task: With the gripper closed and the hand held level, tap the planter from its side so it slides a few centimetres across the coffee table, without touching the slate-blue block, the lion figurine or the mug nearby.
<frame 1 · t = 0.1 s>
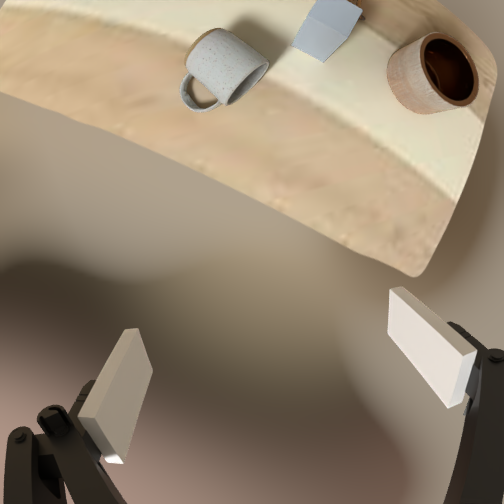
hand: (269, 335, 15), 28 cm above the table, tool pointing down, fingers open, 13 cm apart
slate block: (314, 41, 36), on the table
ceramic mug: (220, 81, 37), on the table
planter: (414, 81, 38), on the table
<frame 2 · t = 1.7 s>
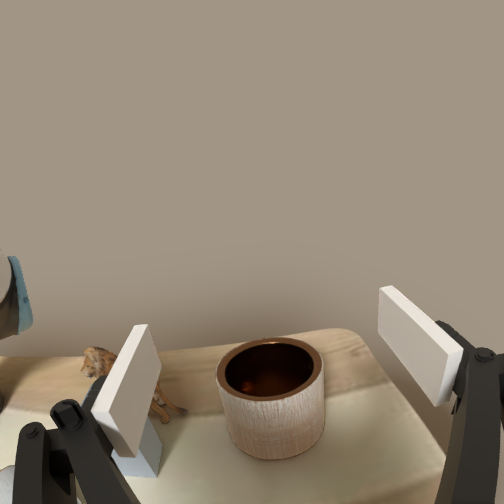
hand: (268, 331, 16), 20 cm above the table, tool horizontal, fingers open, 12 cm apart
slate block: (139, 460, 28), on the table
lion figurine: (138, 407, 38), on the table
planter: (277, 428, 32), on the table
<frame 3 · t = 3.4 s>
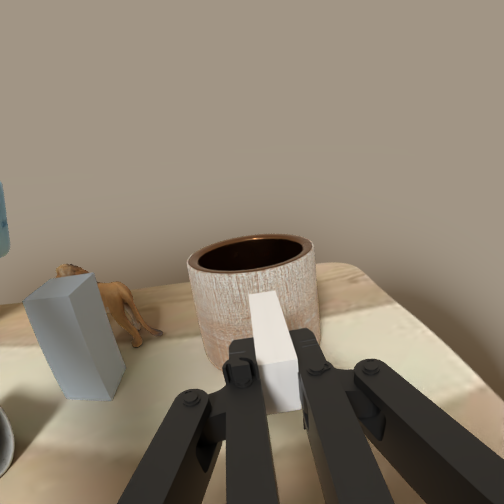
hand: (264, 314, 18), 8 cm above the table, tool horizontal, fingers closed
slate block: (96, 383, 25), on the table
lion figurine: (110, 335, 34), on the table
planter: (263, 347, 29), on the table
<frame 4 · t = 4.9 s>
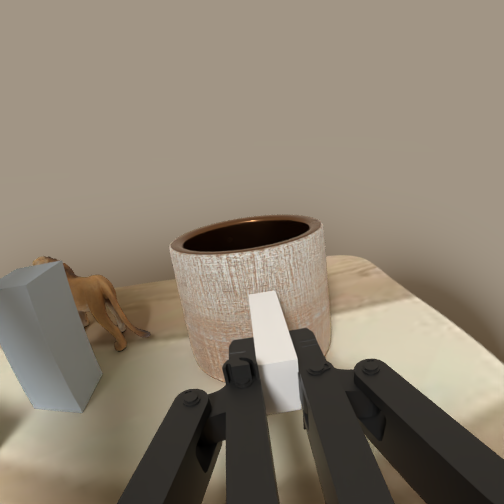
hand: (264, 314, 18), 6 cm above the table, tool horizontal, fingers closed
slate block: (68, 391, 20), on the table
lion figurine: (91, 337, 29), on the table
planter: (263, 349, 25), on the table, touching gripper
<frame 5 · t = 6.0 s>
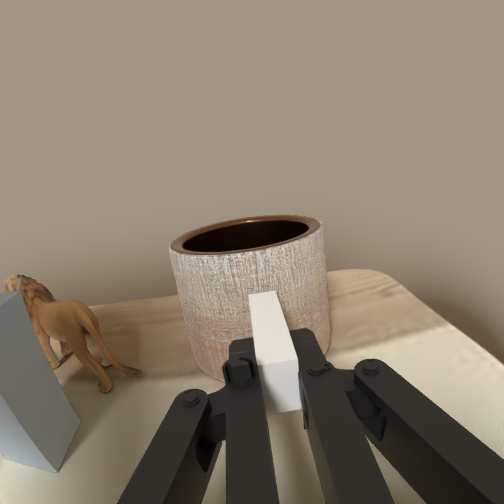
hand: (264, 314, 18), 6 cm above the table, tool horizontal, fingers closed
slate block: (42, 441, 15), on the table
lion figurine: (74, 370, 24), on the table
planter: (262, 349, 25), on the table, touching gripper
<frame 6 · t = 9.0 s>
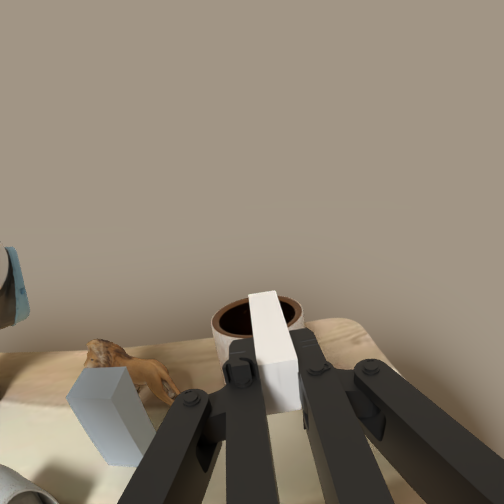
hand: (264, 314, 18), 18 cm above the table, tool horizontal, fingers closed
slate block: (133, 450, 27), on the table
lion figurine: (145, 402, 36), on the table
planter: (267, 379, 38), on the table
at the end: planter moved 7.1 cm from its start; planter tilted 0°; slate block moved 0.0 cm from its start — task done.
